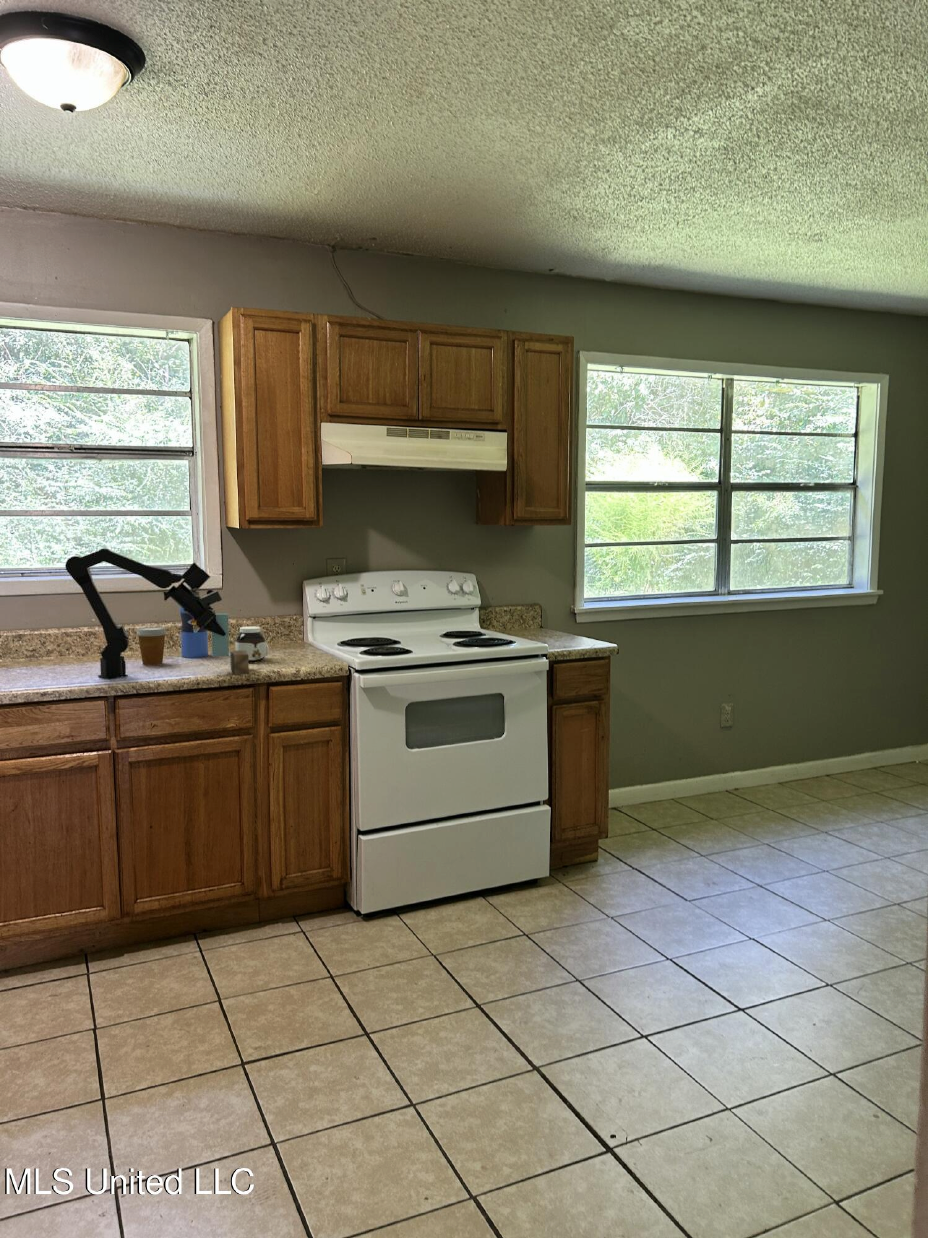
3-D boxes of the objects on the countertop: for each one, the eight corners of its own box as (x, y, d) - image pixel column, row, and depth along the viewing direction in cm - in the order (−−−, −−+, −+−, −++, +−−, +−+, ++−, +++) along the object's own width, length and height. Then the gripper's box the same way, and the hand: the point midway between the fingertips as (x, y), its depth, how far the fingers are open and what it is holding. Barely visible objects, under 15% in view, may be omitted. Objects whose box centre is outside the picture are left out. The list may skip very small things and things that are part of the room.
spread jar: (237, 664, 311) (236, 629, 309) (232, 659, 321) (232, 625, 320) (273, 662, 315) (272, 628, 314) (267, 657, 325) (267, 624, 324)
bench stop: (232, 674, 291) (232, 655, 290) (230, 669, 300) (230, 650, 300) (248, 673, 292) (248, 654, 292) (246, 668, 302) (246, 650, 301)
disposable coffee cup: (131, 665, 307) (130, 629, 306) (151, 660, 316) (150, 626, 315) (153, 667, 304) (152, 630, 302) (173, 662, 312) (172, 627, 311)
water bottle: (176, 655, 327) (174, 585, 324) (201, 653, 333) (199, 584, 330) (187, 659, 320) (185, 587, 317) (213, 656, 326) (211, 585, 323)
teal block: (212, 656, 291) (211, 615, 290) (212, 654, 296) (211, 613, 294) (228, 655, 292) (228, 614, 291) (228, 653, 297) (227, 613, 296)
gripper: (206, 584, 281) (244, 619, 286) (205, 579, 299) (240, 612, 304) (180, 610, 280) (218, 645, 284) (180, 604, 298) (216, 637, 302)
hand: (224, 634), depth 294 cm, fingers closed on teal block, 5 cm apart
